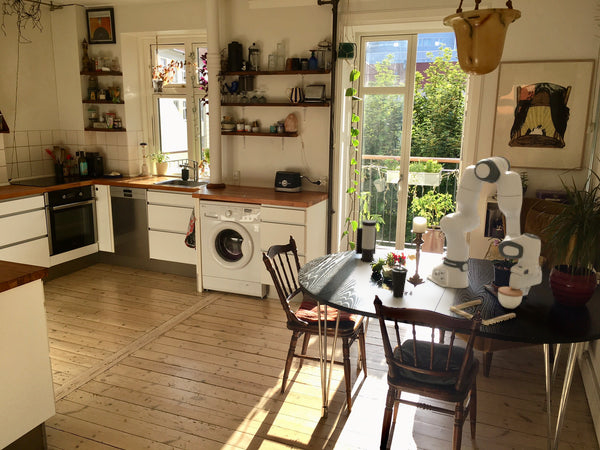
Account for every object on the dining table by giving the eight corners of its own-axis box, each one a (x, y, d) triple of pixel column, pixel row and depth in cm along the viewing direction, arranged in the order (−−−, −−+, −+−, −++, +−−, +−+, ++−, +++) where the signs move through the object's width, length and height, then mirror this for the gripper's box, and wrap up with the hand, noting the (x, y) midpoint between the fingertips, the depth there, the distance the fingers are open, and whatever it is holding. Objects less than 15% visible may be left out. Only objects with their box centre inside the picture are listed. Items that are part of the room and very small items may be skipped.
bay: (449, 309, 226) (449, 306, 226) (478, 302, 236) (479, 299, 236) (485, 326, 210) (485, 322, 209) (515, 317, 220) (515, 313, 219)
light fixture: (358, 262, 296) (360, 222, 291) (355, 257, 307) (357, 218, 301) (378, 262, 297) (380, 222, 292) (374, 257, 308) (376, 218, 302)
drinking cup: (387, 294, 245) (389, 255, 240) (400, 292, 247) (403, 254, 243) (395, 299, 238) (397, 260, 233) (408, 297, 240) (411, 258, 236)
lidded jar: (492, 305, 233) (494, 286, 230) (502, 300, 240) (504, 281, 238) (515, 312, 225) (517, 293, 223) (524, 306, 232) (527, 287, 230)
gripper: (535, 262, 242) (531, 289, 245) (508, 268, 232) (505, 296, 235) (547, 266, 237) (543, 293, 240) (520, 272, 227) (516, 300, 230)
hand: (524, 294), depth 237 cm, fingers closed
